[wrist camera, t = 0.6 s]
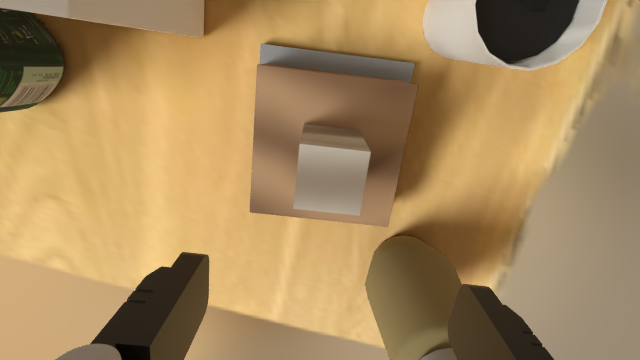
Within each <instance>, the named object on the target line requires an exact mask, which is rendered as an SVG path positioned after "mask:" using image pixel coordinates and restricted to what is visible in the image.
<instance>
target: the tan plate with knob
mask: <svg viewBox="0 0 640 360" xmlns="http://www.w3.org/2000/svg"><path fill="white" fill-rule="evenodd" d="M417 89H418V85H417V84H414V83H410V82H407V81H400V80H392V79H384V78H376V77H368V76H360V75H352V74H344V73H336V72H328V71H320V70H312V69H304V68H296V67H288V66H280V65H272V64H259V65H257V77H256V97H255V117H254V137H253V157H252V177H251V198H250V212H252V213H261V214H271V215H280V216H290V217H299V218H308V219H318V220H327V221H337V222H346V223H356V224H365V225H375V226H384V227H388V225H389V220H390V215H391V211H392V206H393V201H394V197H395V192H396V187H397V183H398V178H399V173H400V168H401V164H402V159H403V154H404V150H405V145H406V140H407V136H408V131H409V126H410V122H411V117H412V112H413V107H414V103H415V98H416V93H417Z"/></svg>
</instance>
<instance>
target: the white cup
mask: <svg viewBox="0 0 640 360" xmlns="http://www.w3.org/2000/svg"><path fill="white" fill-rule="evenodd" d="M607 1H608V0H430V1H429V2H428V4H427V6H426V8H425V13H424V18H423V23H422V24H423V31H424V37H425V40H426V41H427V43H428V45H429V46H430V48H431V49H432V51H434V52H435V53H437V54H438V55H440V56H441V57H443V58H447V59H454V60H460V61H466V62H473V63H479V64H486V65H492V66H499V67H505V68H513V69H521V70H529V71H532V70H536V69H539V68H543V67H547V66H550V65H554V64H557V63H558V62H560V61H561V60H563V59H564V58H565V57H567V56H568V55H570V54H571V53H573V52H574V51H575V50H577V49H578V48H580V47H581V46H582V44H583V43H584V42H585V41H586V39H587V38H588V37H589V35H590V34H591V33H592V31H593V30H594V29H595V28H596V26H597V25H598V24H599V22H600V19H601V17H602V14H603V11H604V9H605V6H606V3H607Z"/></svg>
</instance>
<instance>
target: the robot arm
mask: <svg viewBox="0 0 640 360" xmlns="http://www.w3.org/2000/svg"><path fill="white" fill-rule="evenodd" d="M208 297H209V256H208V255H205V254H196V253H187V252H182V253H181V254H180V256H179V257H178V258H177V260H176V261H175V262H174V264H173V265H172V266H171V268H170V267H160V268H158V269H157V270H155V271H154V272H152V273H150V274H149V275H147V276H146V277H145V278H144V279H143V280H142V282H141V283H140V284H139V285H138V287H137V288H136V290H135V291H133V293H132V294H131V295H130V296H129V297H128V299H127V302H125V303H124V304H123V305H122V306H121V307H120V308H119V310H118V311H117V312H116V314H115V315H114V316H113V317H112V318H111V319H110V321H109V322H108V323H107V324H106V325H105V327H104V328H103V329H102V330H101V332H100V333H99V334H98V335H97V337H96V338H95V339H94V340H93V341H92V342H91V344H90V345H85V346H81V347H78V348H75V349H73V350H71V351H69V352H67V353H65V354H63V355H62V356H60V357H58V358H57V359H56V360H184V358H185V356H186V354H187V352H188V350H189V348H190V345H191V343H192V341H193V339H194V337H195V334H196V332H197V330H198V328H199V326H200V324H201V322H202V320H203V317H204V315H205V312H206V308H207V304H208ZM448 338H449V342H450V345H451V347H452V349H453V351H454V353H455V356H456V358H457V360H554V359H553V358H552V356H551V355H550V354H549V352H548V351H547V350H546V349H545V348H544V347H542V343H541V342H540V341H539V340H538V338H537V337H536V336H535V335H533V332H532V331H531V329H530V328H529V327H528V325H527V324H526V323H525V322H524V320H523V319H522V318H521V317H520V316H518V315H517V314H516V313H515V312H513V311H512V310H511V309H510V308H509V307H508V306H506V305H502V303H501V302H500V300H499V299H498V298H497V296H496V295H495V294H494V292H493V291H492V290H491V289H490V288H489V287H486V286H477V285H468V284H463V285H461V287H460V288H459V291H458V294H457V297H456V300H455V303H454V307H453V310H452V313H451V316H450V319H449V323H448Z"/></svg>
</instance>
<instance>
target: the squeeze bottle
mask: <svg viewBox="0 0 640 360" xmlns="http://www.w3.org/2000/svg"><path fill="white" fill-rule="evenodd" d="M461 285H462V284H461V282H460V279H459V277H458V275H457V273H456V271H455V268H454V267H453V265H452V264H451V262H450V261H449V259H448V258H447V256H446V255H445V254H443V253H441V252H440V251H438V250H436V249H435V248H433V247H431V246H430V245H428V244H426V243H425V242H423V241H421V240H420V239H418V238H416V237H413V236H407V235H401V236H396V237H391V238H389V239H388V240H386V241H384V242H383V243H381V244H380V246H379V247H378V248H377V249H376V251H375V252H374V255H373V258H372V261H371V264H370V268H369V271H368V275H367V279H366V283H365V286H366V291H367V296H368V299H369V302H370V305H371V308H372V311H373V314H374V316H375V319H376V322H377V325H378V328H379V331H380V333H381V336H382V339H383V342H384V345H385V348H386V351H387V353H388V356H389V359H390V360H457V358H456V356H455V353H454V351H453V349H452V347H451V345H450V342H449V338H448V323H449V319H450V316H451V313H452V310H453V307H454V303H455V300H456V297H457V294H458V291H459V288H460V287H461Z"/></svg>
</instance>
